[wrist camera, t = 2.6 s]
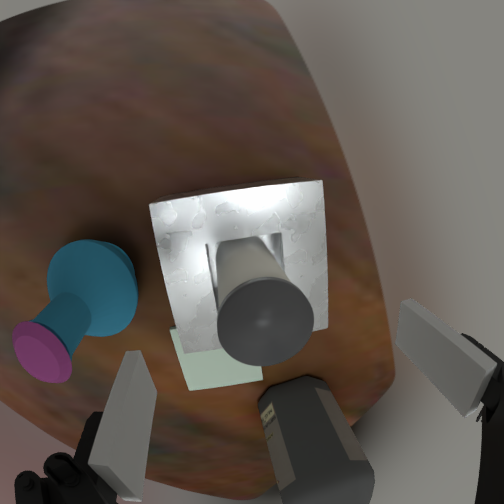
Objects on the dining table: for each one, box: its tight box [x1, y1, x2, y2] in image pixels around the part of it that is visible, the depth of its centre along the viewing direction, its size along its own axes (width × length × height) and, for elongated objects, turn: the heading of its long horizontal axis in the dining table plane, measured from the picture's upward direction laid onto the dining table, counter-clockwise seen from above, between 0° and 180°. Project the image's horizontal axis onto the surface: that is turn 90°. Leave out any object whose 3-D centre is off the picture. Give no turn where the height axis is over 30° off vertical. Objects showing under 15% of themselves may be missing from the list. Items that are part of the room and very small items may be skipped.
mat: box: [170, 326, 263, 391], centre depth 31 cm, size 9×9×1 cm
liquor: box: [258, 376, 375, 504], centre depth 21 cm, size 9×9×30 cm
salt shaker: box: [216, 236, 314, 366], centre depth 21 cm, size 5×5×12 cm
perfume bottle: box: [12, 239, 138, 383], centre depth 20 cm, size 9×9×15 cm
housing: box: [149, 177, 328, 354], centre depth 25 cm, size 13×13×6 cm
